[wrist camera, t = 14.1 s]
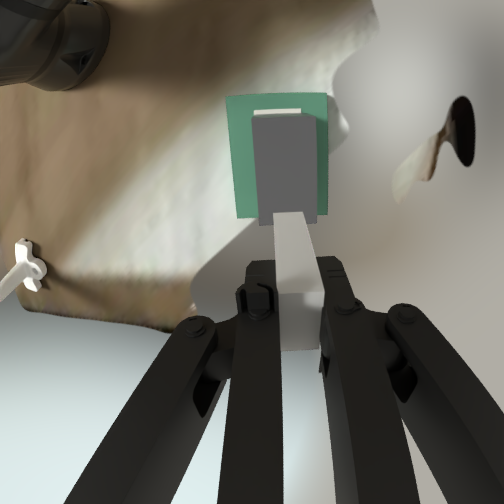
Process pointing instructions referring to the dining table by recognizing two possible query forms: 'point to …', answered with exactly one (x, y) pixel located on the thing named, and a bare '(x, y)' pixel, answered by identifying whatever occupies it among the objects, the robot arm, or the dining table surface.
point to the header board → (242, 142)
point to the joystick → (23, 270)
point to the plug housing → (285, 165)
